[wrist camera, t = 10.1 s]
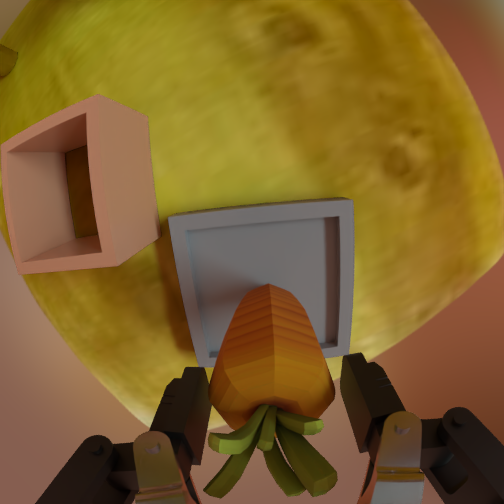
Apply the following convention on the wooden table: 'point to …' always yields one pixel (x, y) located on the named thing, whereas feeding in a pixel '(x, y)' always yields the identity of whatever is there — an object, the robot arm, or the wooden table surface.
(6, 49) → the milkshake
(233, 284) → the tray
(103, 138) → the box
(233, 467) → the carrot
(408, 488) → the robot arm
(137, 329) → the wooden table surface
